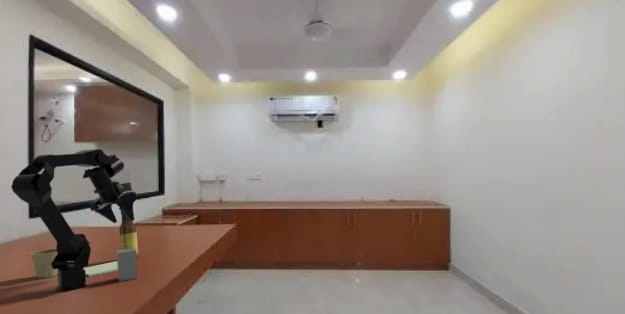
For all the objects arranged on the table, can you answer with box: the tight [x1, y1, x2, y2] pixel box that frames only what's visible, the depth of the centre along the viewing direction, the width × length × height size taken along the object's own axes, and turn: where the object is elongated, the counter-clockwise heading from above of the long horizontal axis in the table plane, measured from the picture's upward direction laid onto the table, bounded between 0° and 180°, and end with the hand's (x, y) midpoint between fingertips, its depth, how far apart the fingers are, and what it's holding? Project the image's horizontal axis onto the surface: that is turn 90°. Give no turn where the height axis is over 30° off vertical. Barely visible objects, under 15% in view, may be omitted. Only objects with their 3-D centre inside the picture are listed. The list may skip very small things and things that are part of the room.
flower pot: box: [29, 248, 58, 279], centre depth 144 cm, size 9×9×9 cm
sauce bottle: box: [118, 210, 139, 259], centre depth 166 cm, size 7×6×20 cm
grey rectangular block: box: [116, 248, 138, 282], centre depth 134 cm, size 5×5×9 cm
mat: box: [83, 260, 118, 277], centre depth 150 cm, size 16×14×1 cm
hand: (124, 221), depth 146 cm, fingers open, 9 cm apart
